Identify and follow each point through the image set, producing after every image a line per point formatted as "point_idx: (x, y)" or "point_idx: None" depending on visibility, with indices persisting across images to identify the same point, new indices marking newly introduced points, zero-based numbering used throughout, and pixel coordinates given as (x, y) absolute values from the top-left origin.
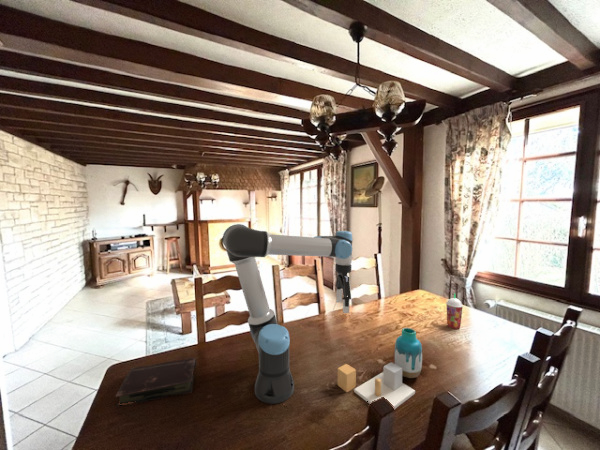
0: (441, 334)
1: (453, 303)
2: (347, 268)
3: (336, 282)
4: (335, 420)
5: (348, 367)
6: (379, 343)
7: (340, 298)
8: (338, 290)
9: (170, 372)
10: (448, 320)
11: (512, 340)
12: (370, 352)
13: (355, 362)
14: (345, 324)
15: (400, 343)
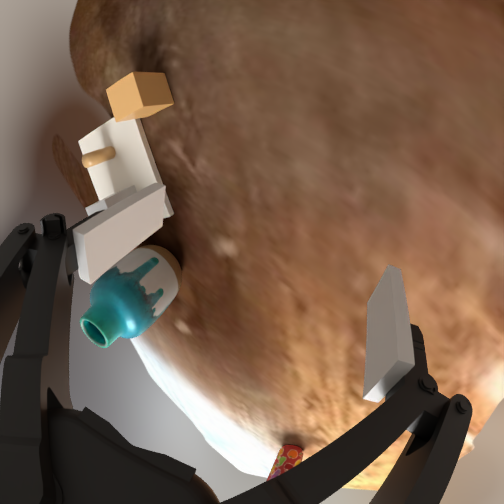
0: (279, 423)
1: None
2: None
3: (448, 445)
4: (92, 46)
5: (128, 105)
6: (309, 309)
7: (374, 314)
8: (387, 363)
9: None
10: (292, 456)
11: (225, 449)
12: (275, 251)
13: (241, 172)
14: (469, 297)
15: (101, 286)
